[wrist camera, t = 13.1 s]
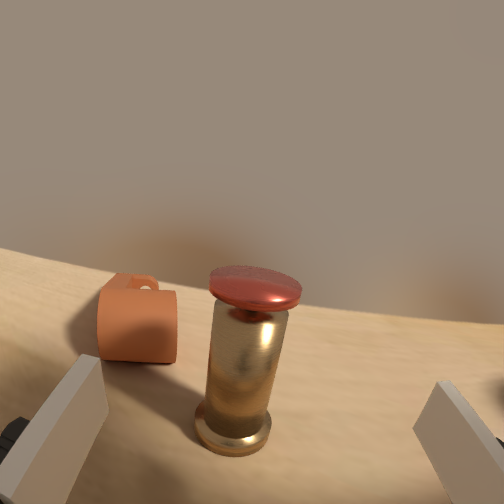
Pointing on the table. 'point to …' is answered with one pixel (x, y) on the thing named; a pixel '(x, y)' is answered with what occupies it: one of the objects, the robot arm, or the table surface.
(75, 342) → the table surface
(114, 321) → the orange holed part
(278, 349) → the valve
